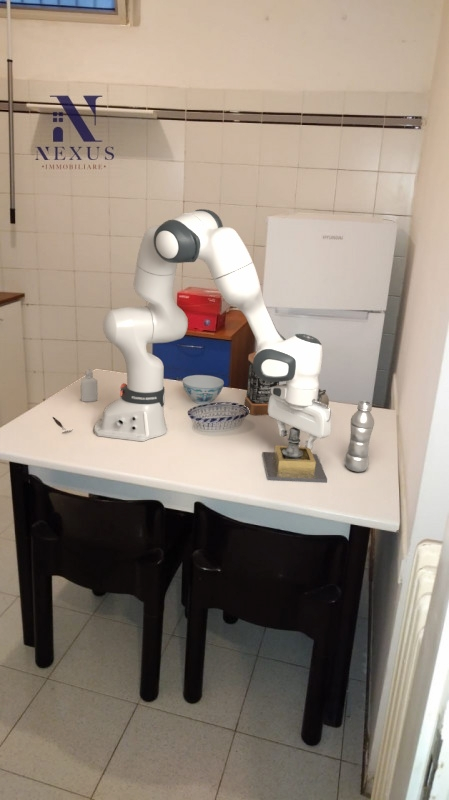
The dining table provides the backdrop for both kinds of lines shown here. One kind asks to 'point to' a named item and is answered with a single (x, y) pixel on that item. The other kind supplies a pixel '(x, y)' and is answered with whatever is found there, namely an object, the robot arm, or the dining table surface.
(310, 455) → the collar plate
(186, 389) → the chinaware
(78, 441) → the dining table surface
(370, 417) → the plastic bottle
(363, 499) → the dining table surface
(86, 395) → the eye dropper bottle
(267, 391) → the whiskey bottle
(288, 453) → the salt shaker
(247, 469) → the dining table surface
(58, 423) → the razor
